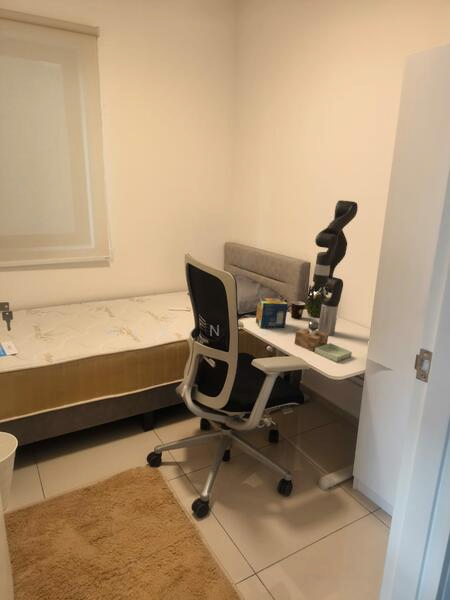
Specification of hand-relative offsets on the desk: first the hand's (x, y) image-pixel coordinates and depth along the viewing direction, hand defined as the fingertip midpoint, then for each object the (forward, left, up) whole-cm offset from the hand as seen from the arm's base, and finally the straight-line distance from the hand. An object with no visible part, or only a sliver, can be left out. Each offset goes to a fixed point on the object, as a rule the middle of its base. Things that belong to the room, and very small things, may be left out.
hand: (316, 304), depth 200 cm
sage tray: (0, +14, -23) cm, 27 cm away
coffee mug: (-30, -36, -23) cm, 52 cm away
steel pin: (0, 0, -23) cm, 23 cm away
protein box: (-4, -33, -23) cm, 41 cm away
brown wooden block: (0, 0, -23) cm, 23 cm away
